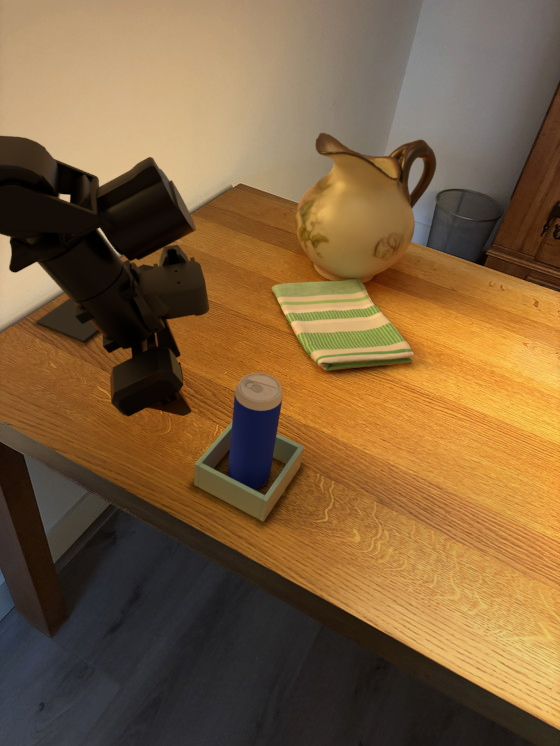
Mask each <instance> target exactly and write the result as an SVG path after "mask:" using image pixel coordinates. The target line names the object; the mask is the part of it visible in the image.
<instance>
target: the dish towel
mask: <svg viewBox="0 0 560 746" xmlns="http://www.w3.org/2000/svg"><path fill="white" fill-rule="evenodd" d="M271 291H272V293H273V295H274V296H275V298H276V300H277V302H278V304H279V307H280V308H281V310H282V312H283V315H284V316H285V318H286V320H287V321H288V323H289V325H290V326H291V329H292V331H293V333H294V335H295V336H296V339H297V340H298V342H299V344H300V345H301V346H302V348H303V351H305V353H306V354H307V355H308V356H309V357H310V358H311V359H312V361H313V362H314V363H315V364H316V366H318V367H319V368H321V370H324V371H326V372H329V371H335V370H336V371H337V370H345V369H357V368H367V367H377V366H378V367H379V366H389V365H399V364H410V363H413V362H414V361H413V359H412V358H414V355H415V353H414V351H413V350H412V348H411V346H410V344H409V343H408V342H407V340H406V339H405V337H403V336H402V334H401V332H400V331H399V330H398V329H397V328H396V327H395V325H394V324H393V323H392V322H391V321H390V320H389V319H388V318H387V317H386V316H385V315H384V314H383V312H382V310H381V309H380V308H379V307H378V306H377V305H376V304H374V302H373V301H372V299H371V297H370V295H369V293H368V289H367V288H366V285H365V283H362V281H361V280H360V279H359V278H352V279H347V280H343V281H330V280H325V281H324V280H322V281H321V280H320V281H302V282H285V283H284V282H283V283H278V284H275V285H273V286H272V287H271Z"/></svg>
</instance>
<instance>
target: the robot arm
mask: <svg viewBox="0 0 560 746" xmlns="http://www.w3.org/2000/svg"><path fill="white" fill-rule="evenodd" d="M61 195H64V196H66V195H67V196H69V201H67V200H64V199H62V198H61ZM99 229H100V230H99ZM195 231H197V228H196V224H195V222H194V220H193V217H192V215H191V213H190V210H189V209H188V207H187V204H186V203H185V201H184V198H183V197H182V195H181V193H180V192H179V190H178V188H177V186H176V184H175V183H174V181H173V180H170V179H169V177H168V176H167V175H166V174H165V172H164V171H163V169H161V168H160V167H159V165H158V164H157V162H156V161H155V159H154V158H153V157H151V156H148V157H147V158H144V159H143V160H140V161H139V162H138V163H137V164H135V165H134V166H133V167H132V168H131V169H130V170H128V171H126V172H123V173H122V174H120V175H119V176H117V177H115V178H113V179H111V180H109V181H107V182H106V183H103V184H102V185H100V179H99V177H98V176H97V175H95V174H93V173H90V172H88V171H85V170H83V169H80V168H78V167H75V166H73V165H70V164H68V163H65V162H63V161H60V160H58V159H55V158H54V157H53V156H52V155H51V154H50V152H49V151H48V150H47V148H46V147H45V146H44V145H42V144H41V143H39V142H37V141H35V140H33V139H30V138H27V137H22V136H14V135H0V235H1V236H6V237H7V238H9V245H10V250H11V252H10V261H9V265H8V266H9V267H8V270H9V271H10V272H11V273H13V274H16V273H19V272H21V271H22V270H25V269H26V268H28V267H30V266H32V265H34V264H36V263H37V264H38V265H39V266H40V267H41V268H42V270H44V272H45V273H46V274H47V275H48V276H49V277H50V278H51V279H52V280H53V282H54V283H55V284H56V285H57V286H58V287H59V288H60V290H61V291H62V292H63V293H64V294H65V295H66V296H67V297H68V299H71V300H72V301H73V303H74V304H75V305H76V308H75V317H76V318H77V319H78V320H79V321H80V322H81V323H82V324H84V323H86V322H88V321H89V320H90V321H91V322H92V324H93V325H94V326H95V327H96V328H97V329H98V330H99V331H98V332H99V333H100V334H101V335H102V348H104V350H105V351H106V352H107V353H108V354H111V353H113V352H115V351H117V350H119V349H121V348H122V350H127V349H131V357H130V358H129V359H127V360H124V361H122V362H120V363H118V364H117V365H115V366H113V367H112V368H111V369H112V370H111V373H110V377H109V383H110V404H111V405H112V406H114V407H115V409H117V411H119V412H120V414H122V415H123V416H126V417H131V416H133V415H135V414H137V413H139V412H141V411H143V410H145V409H152V410H155V411H160V412H164V413H169V414H172V415H176V416H181V417H185V416H188V415H189V414H191V413H192V408H191V406H190V403H189V401H188V400H187V398H186V396H185V394H184V392H183V390H182V388H183V386H184V374H183V368H182V364H181V361H179V360H178V358H179V357H181V351H180V348H179V346H178V343H177V341H176V339H175V336H174V334H173V331H172V329H171V327H170V324H169V321H168V320H173V319H179V318H185V317H190V316H195V317H199V316H200V317H201V316H203V315H206V314H207V313H208V312H209V311H210V304H209V297H208V292H207V291H208V290H207V284H206V279H205V275H204V273H203V269H202V265H201V263H200V262H198V261H196V259H195V257H194V256H192V257H189V256H188V255H187V254H186V253H185V252H184V251H183V250H182V248H181V247H180V246H179V245H178V244H173V245H171V244H172V243H175V242H176V241H178V240H180V239H182V238H185V237H186V236H187V235H190V234H192V233H194V232H195ZM101 232H102V233H103V234H102V233H101ZM161 249H162V251H161V254H160V257H159V259H158V260H159V261H158V263H157V262H156V263H153V264H152V265H150V264H145V263H143V264H141V265H139V266H137V264H136V263H135V261H134V260H138V261H140V260H142V259H144V258H146V257H148V256H149V255H151V254H154V253H155V252H158V251H159V250H161ZM118 254H119V255H120V256H124V257H125V258H126V259H127V260H124V261H123V260H122V259H121V257H120V256H119V255H118ZM132 261H133V262H132Z"/></svg>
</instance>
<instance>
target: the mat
mask: <svg viewBox="0 0 560 746" xmlns="http://www.w3.org/2000/svg"><path fill="white" fill-rule="evenodd" d="M75 308H76V305H75V304H74V303H73V301H72V300H71V299H70V298H68V299H67V300H66V301H64V302H63V303H61V304H60V305H59V306H56V307H55V308H54V309H53V310H51V311H50V312H48V313H47V314H45V315H44V316H43V317H41V318H39V319H38V320H36V324H37V325H40V326H43V327H45V328H47V329H49V330H53V331H55V332H57V333H60V334H62V335H64V336H67V337H70V338H71V339H75V340H77V341H80V342H82V343H86V342H87V341H88V340H89V339H90V338H92V337H93V336H94V335H96V334H97V333H98V332H100V331H99V330H98V329H97V328H96V327H95V326H94V325H93V324H92V322H91V321H90V320H89V321H88V322H86V323H84V324H82V323H81V322H80V321H79V320H78V319H77V318H76V317H75Z"/></svg>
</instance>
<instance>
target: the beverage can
mask: <svg viewBox="0 0 560 746" xmlns="http://www.w3.org/2000/svg"><path fill="white" fill-rule="evenodd" d="M233 397H234V398H233V410H232V421H231V422H232V431H231V443H230V450H229V456H228V469H227V476H228V477H230V478H232V479H234V480H236V481H238V482H240V483H242V484H244V485H246V486H248V487H249V488H251V489H253V490H255V491H256V490H257V489H260V488H263V487H264V486H265V485H266V484H267V483H268V481H269V479H270V477H271V471H272V465H273V459H274V458H273V453H274V447H275V441H276V435H277V434H278V428H279V421H280V417H281V416H280V415H281V410H282V405H283V397H284V394H283V390H282V385H281V383H280V382H279V380H278V379H277V378H276V377H275V376H272V375H270V374H268V373H264V372H253V373H248V374H246V375H244V376H242V377H241V379H240V380H239V381H238V383H237V385H236V387H235V390H234V396H233Z"/></svg>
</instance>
